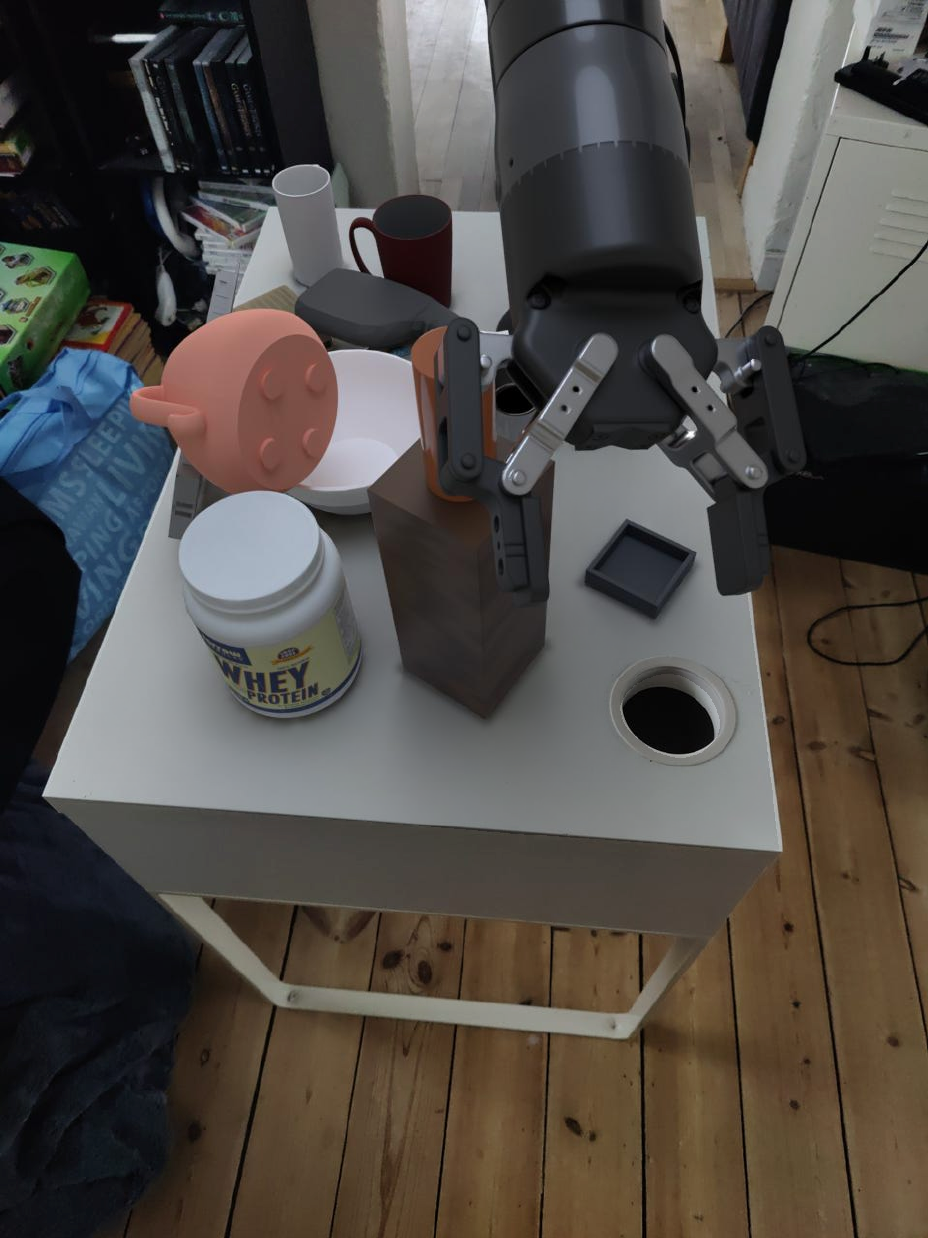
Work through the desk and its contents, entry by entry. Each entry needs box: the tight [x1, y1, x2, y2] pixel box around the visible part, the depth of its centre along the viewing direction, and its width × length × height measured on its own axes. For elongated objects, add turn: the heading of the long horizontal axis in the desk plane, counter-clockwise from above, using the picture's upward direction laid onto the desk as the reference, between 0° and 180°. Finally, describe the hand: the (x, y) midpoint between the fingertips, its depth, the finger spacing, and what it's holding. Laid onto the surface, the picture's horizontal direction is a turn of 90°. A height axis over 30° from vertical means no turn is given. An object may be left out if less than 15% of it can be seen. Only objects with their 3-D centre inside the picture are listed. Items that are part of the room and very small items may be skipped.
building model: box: [167, 252, 242, 541], centre depth 84 cm, size 25×18×2 cm
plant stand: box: [367, 434, 556, 720], centre depth 66 cm, size 9×9×23 cm
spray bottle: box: [294, 268, 509, 349], centre depth 94 cm, size 3×11×24 cm
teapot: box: [128, 309, 338, 495], centre depth 73 cm, size 22×16×12 cm
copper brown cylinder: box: [411, 326, 497, 502], centre depth 53 cm, size 5×5×10 cm
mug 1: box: [271, 164, 345, 288], centre depth 105 cm, size 10×7×12 cm, turn 169°
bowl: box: [284, 348, 420, 516], centre depth 85 cm, size 19×20×8 cm
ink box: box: [232, 284, 335, 352], centre depth 100 cm, size 10×4×8 cm
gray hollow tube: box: [496, 383, 536, 442], centre depth 83 cm, size 4×4×10 cm
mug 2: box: [348, 194, 454, 309], centre depth 100 cm, size 12×9×11 cm
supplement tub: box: [177, 491, 363, 719], centre depth 69 cm, size 12×12×17 cm
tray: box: [584, 518, 698, 620], centre depth 79 cm, size 7×7×2 cm
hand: (640, 598), depth 32 cm, fingers open, 8 cm apart
